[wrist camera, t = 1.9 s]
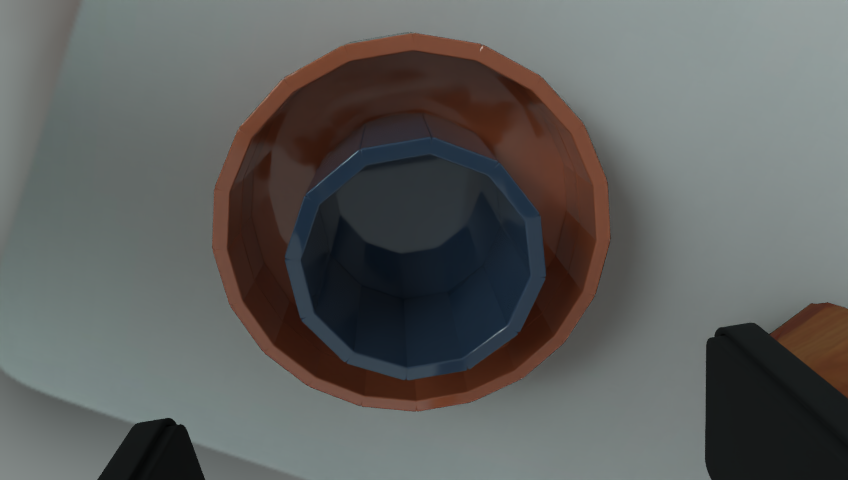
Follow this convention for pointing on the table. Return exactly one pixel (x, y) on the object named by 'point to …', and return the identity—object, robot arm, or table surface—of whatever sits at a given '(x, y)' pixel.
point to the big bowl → (385, 96)
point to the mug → (819, 341)
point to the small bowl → (415, 249)
